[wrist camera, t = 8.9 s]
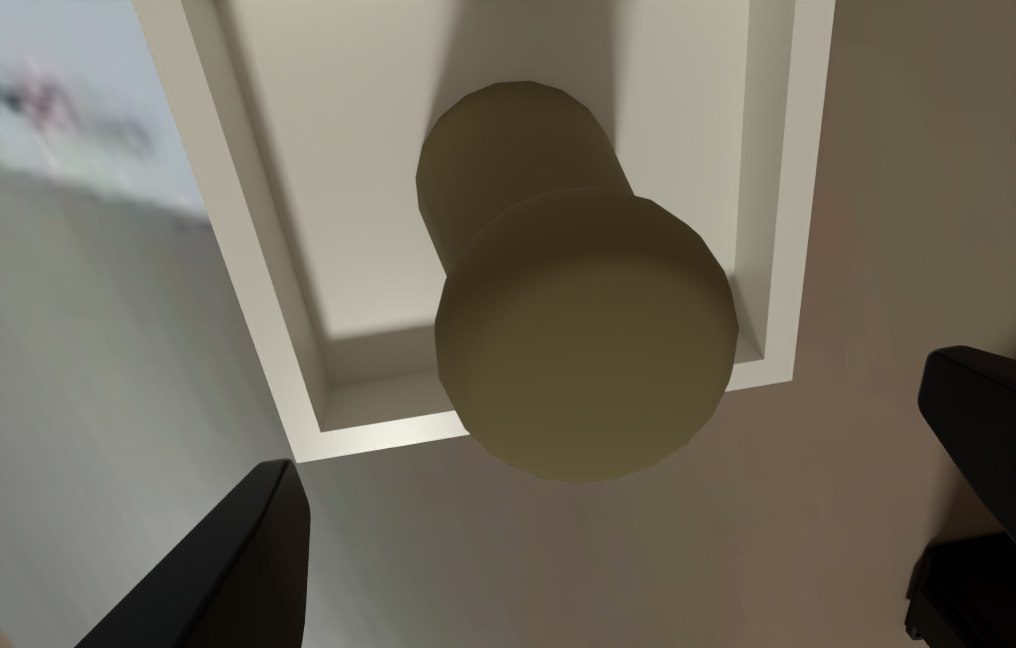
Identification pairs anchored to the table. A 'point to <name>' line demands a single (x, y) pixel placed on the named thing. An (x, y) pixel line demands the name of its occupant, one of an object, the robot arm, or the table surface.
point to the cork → (566, 292)
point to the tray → (396, 152)
